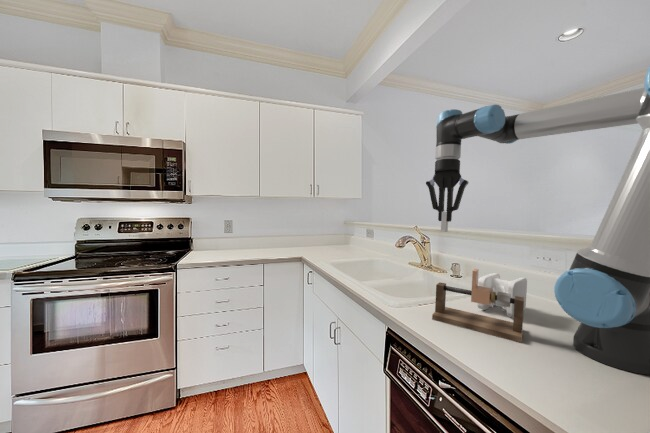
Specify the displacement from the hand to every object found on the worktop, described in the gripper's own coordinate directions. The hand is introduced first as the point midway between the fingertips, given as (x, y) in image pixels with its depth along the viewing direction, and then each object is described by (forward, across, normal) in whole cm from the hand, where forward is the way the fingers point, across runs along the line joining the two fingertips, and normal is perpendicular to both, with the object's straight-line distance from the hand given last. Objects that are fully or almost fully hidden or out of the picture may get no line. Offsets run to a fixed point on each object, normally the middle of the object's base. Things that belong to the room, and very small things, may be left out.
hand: (444, 231), depth 89 cm
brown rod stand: (+26, -11, +5) cm, 29 cm away
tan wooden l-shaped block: (+19, -12, +5) cm, 23 cm away
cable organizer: (+27, -16, -14) cm, 34 cm away
